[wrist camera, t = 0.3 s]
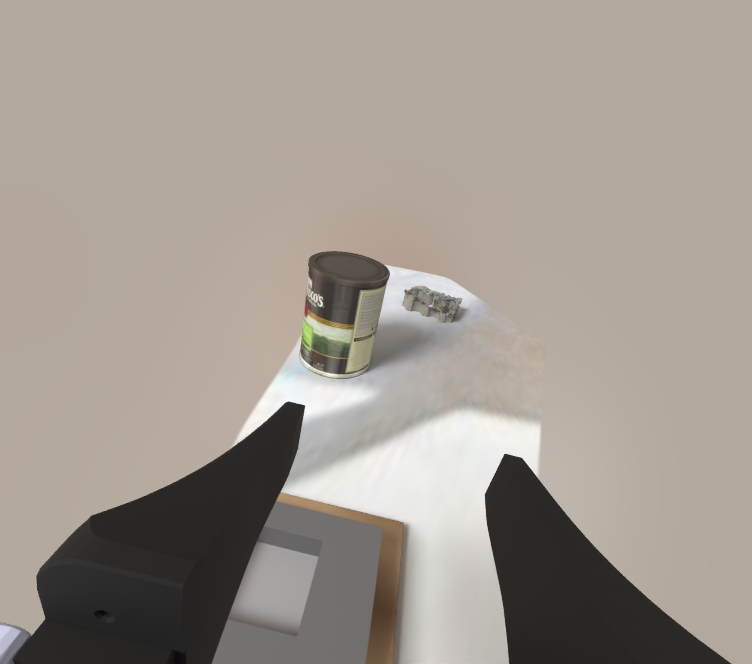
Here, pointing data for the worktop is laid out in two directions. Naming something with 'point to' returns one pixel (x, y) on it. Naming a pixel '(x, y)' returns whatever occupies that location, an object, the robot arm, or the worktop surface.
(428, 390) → the worktop surface
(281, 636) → the grey square frame plate
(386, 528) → the board
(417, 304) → the egg carton
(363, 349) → the coffee can
